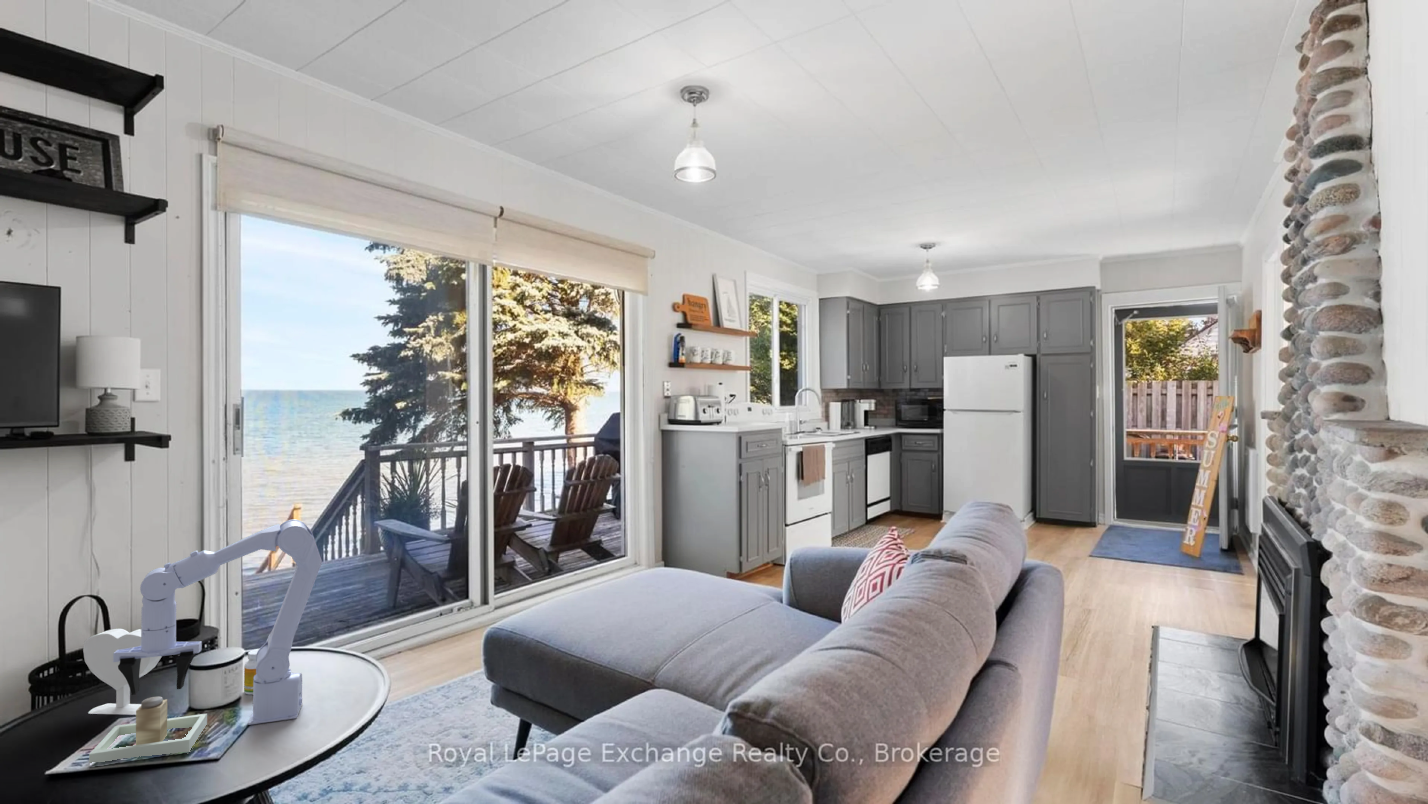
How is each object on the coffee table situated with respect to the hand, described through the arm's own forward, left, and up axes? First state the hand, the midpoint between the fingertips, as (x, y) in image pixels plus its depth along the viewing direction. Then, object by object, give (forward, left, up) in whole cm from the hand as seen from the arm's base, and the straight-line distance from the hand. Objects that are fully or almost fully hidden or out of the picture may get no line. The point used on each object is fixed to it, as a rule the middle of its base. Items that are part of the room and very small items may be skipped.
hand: (158, 689), depth 143 cm
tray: (0, +3, -10) cm, 11 cm away
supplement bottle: (-14, -20, -11) cm, 26 cm away
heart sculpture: (+12, -19, -11) cm, 25 cm away
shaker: (0, +3, -10) cm, 10 cm away
